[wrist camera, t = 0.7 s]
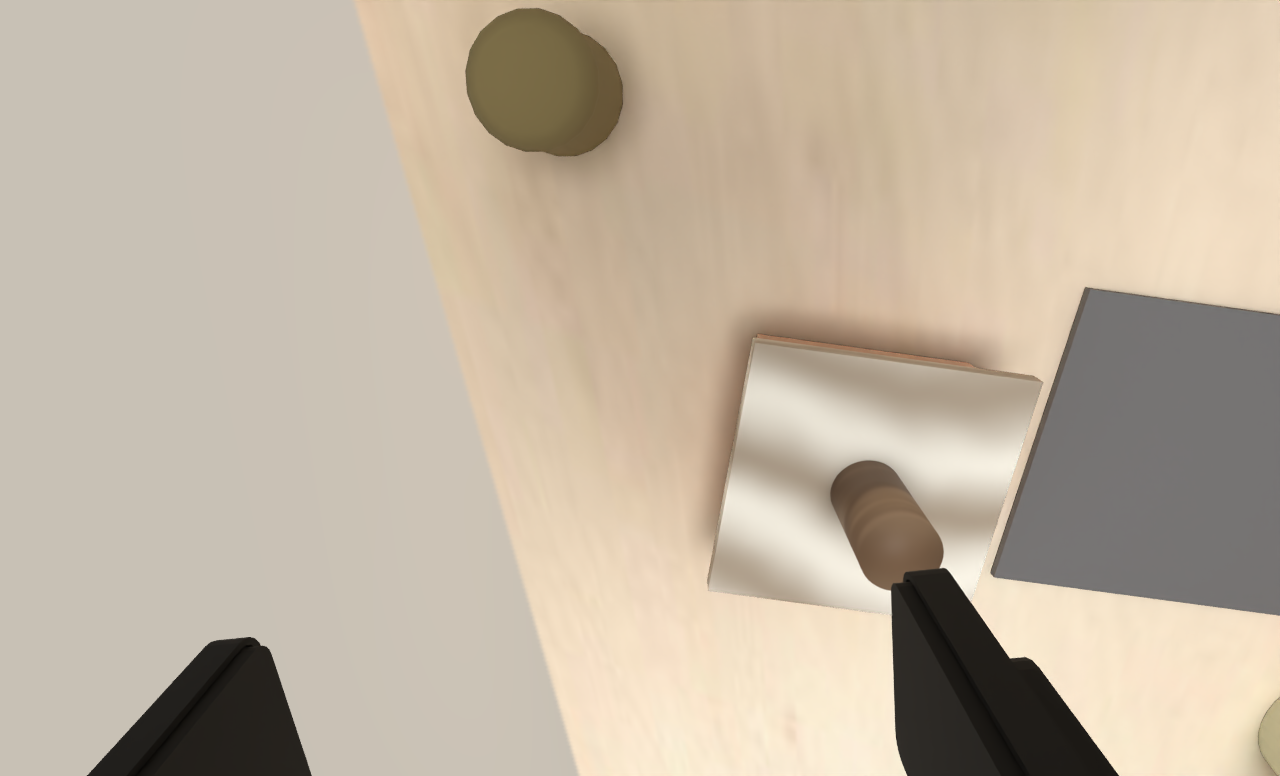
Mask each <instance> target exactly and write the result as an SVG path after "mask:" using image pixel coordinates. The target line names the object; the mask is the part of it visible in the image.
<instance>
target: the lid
mask: <svg viewBox="0 0 1280 776" xmlns="http://www.w3.org/2000/svg"><path fill="white" fill-rule="evenodd" d="M1042 385H1043V382H1042V381H1041V380H1039V379H1038V378H1036V377H1035V376H1031V375H1024V374H1017V373H1009V372H1002V371H995V370H987V369H980V368H973V367H965V366H958V365H951V364H944V363H936V362H929V361H922V360H914V359H907V358H900V357H892V356H885V355H878V354H870V353H863V352H856V351H849V350H841V349H834V348H827V347H819V346H812V345H805V344H797V343H790V342H783V341H776V340H768V339H761V338H754V337H753V340H752V345H751V350H750V355H749V361H748V366H747V371H746V377H745V382H744V387H743V393H742V398H741V403H740V409H739V414H738V419H737V425H736V430H735V435H734V440H733V446H732V451H731V456H730V462H729V467H728V472H727V478H726V483H725V488H724V494H723V499H722V504H721V510H720V515H719V520H718V525H717V531H716V536H715V541H714V547H713V552H712V557H711V563H710V568H709V573H708V579H707V584H708V591H713V592H720V593H728V594H735V595H743V596H750V597H758V598H765V599H773V600H781V601H788V602H796V603H803V604H811V605H818V606H826V607H833V608H841V609H848V610H856V611H863V612H871V613H878V614H886V615H892V609H891V587H892V584H893V583H901V582H903V576H904V573H905V572H908V571H918V570H928V569H938V568H946V569H947V570H948V571H949V572H950V573H951V575H952V576H953V578H954V579H955V580H956V582H957V583H958V585H959V586H960V588H961V589H962V590H963V592H964V593H965V595H966V596H967V598H968V599H969V601H970V602H971V601H972V598H973V595H974V592H975V589H976V586H977V583H978V580H979V577H980V574H981V571H982V568H983V565H984V562H985V559H986V556H987V552H988V549H989V546H990V543H991V540H992V537H993V534H994V531H995V528H996V525H997V522H998V519H999V516H1000V513H1001V510H1002V507H1003V504H1004V501H1005V498H1006V494H1007V491H1008V488H1009V485H1010V482H1011V479H1012V476H1013V473H1014V470H1015V467H1016V464H1017V461H1018V458H1019V455H1020V452H1021V449H1022V446H1023V443H1024V440H1025V436H1026V433H1027V430H1028V427H1029V424H1030V421H1031V418H1032V415H1033V412H1034V409H1035V406H1036V403H1037V400H1038V397H1039V394H1040V391H1041V388H1042Z"/></svg>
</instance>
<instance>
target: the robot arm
mask: <svg viewBox="0 0 1280 776" xmlns="http://www.w3.org/2000/svg"><path fill="white" fill-rule="evenodd" d="M891 609H892V640H893V670H894V701H895V731H896V740H897V746H898V751H899V754H900V758H901V761H902V764H903V766H904V769H905V771H906V774H907V776H1119V775H1118V774H1117V772H1116V771H1115V770H1114V768H1113V767H1112V766H1111V764H1110V763H1109V762H1108V760H1107V759H1106V758H1105V756H1104V755H1103V753H1102V752H1101V751H1100V749H1099V748H1098V747H1097V745H1096V744H1095V743H1094V741H1093V740H1092V739H1091V737H1090V736H1089V735H1088V733H1087V732H1086V730H1085V729H1084V728H1083V726H1082V725H1081V724H1080V722H1079V721H1078V720H1077V718H1076V717H1075V716H1074V714H1073V713H1072V712H1071V710H1070V709H1069V707H1068V706H1067V705H1066V703H1065V702H1064V701H1063V699H1062V698H1061V697H1060V695H1059V694H1058V693H1057V691H1056V690H1055V689H1054V687H1053V686H1052V684H1051V683H1050V682H1049V680H1048V679H1047V678H1046V676H1045V675H1044V674H1043V672H1042V671H1041V670H1040V668H1039V667H1038V666H1037V665H1036V664H1035V663H1034V662H1033V661H1032V660H1031V659H1028V658H1026V657H1022V658H1012V659H1010V658H1009V657H1008V655H1007V654H1006V652H1005V651H1004V650H1003V648H1002V647H1001V645H1000V644H999V642H998V641H997V639H996V638H995V637H994V635H993V634H992V632H991V631H990V629H989V628H988V626H987V625H986V624H985V622H984V621H983V619H982V618H981V616H980V615H979V614H978V612H977V611H976V609H975V608H974V606H973V605H972V603H971V602H970V601H969V599H968V598H967V596H966V595H965V593H964V592H963V590H962V589H961V588H960V586H959V585H958V583H957V582H956V580H955V579H954V578H953V576H952V575H951V573H950V572H949V571H948V570H947V569H946V568H938V569H928V570H918V571H908V572H905V573H904V576H903V582H901V583H893V584H892V587H891ZM87 776H312V775H311V772H310V770H309V766H308V763H307V760H306V757H305V754H304V751H303V748H302V745H301V742H300V739H299V736H298V733H297V730H296V727H295V724H294V721H293V718H292V715H291V712H290V709H289V706H288V703H287V700H286V697H285V694H284V691H283V688H282V685H281V682H280V678H279V675H278V672H277V669H276V666H275V663H274V661H273V657H272V655H271V652H270V650H269V649H268V648H267V647H265V646H261V645H260V643H259V642H258V641H257V640H256V639H255V638H251V637H246V638H236V639H226V640H217V641H213V642H210V643H209V644H208V645H207V646H205V648H204V649H203V650H202V651H201V652H200V653H199V654H198V655H197V656H196V657H195V658H194V660H193V661H192V662H191V663H190V664H189V665H188V666H187V667H186V668H185V669H184V671H183V672H182V673H181V674H180V675H179V676H178V677H177V678H176V679H175V680H174V681H173V683H172V684H171V685H170V686H169V687H168V688H167V689H166V690H165V691H164V692H163V693H162V695H161V696H160V697H159V698H158V699H157V700H156V701H155V702H154V703H153V704H152V706H151V707H150V708H149V709H148V710H147V711H146V712H145V713H144V714H143V715H142V716H141V717H140V719H139V720H138V721H137V722H136V723H135V724H134V725H133V726H132V727H131V728H130V730H129V731H128V732H127V733H126V734H125V735H124V736H123V737H122V738H121V739H120V740H119V742H118V743H117V744H116V745H115V746H114V747H113V748H112V749H111V750H110V751H109V753H107V755H106V756H105V757H104V758H103V759H102V760H101V761H100V762H99V763H98V764H97V765H96V767H95V768H94V769H93V770H92V771H91V772H90V773H89V774H88V775H87Z"/></svg>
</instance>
